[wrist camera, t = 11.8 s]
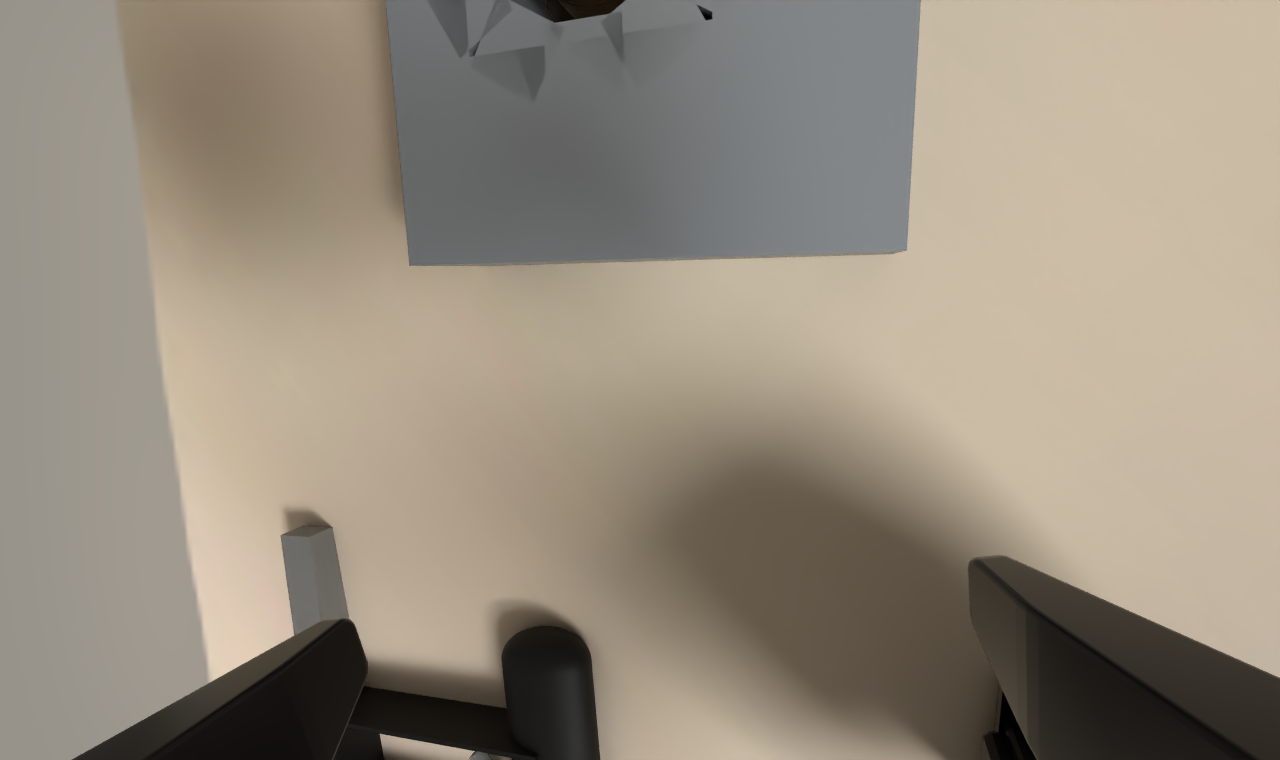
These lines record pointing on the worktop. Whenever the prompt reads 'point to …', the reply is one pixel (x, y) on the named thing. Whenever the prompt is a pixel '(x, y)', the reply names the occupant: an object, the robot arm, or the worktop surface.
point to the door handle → (526, 731)
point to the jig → (653, 129)
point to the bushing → (590, 7)
